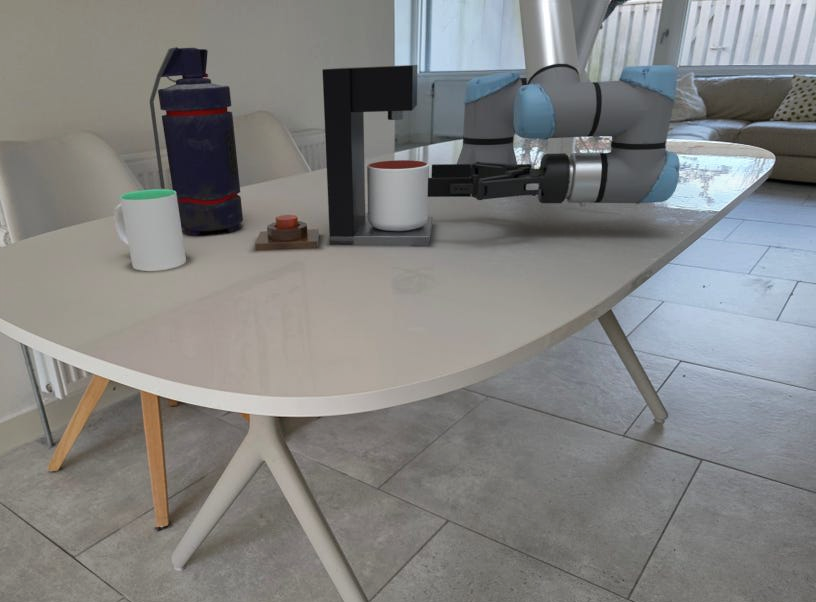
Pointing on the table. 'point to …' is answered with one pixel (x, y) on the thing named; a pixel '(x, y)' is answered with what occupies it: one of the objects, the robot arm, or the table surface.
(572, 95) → the robot arm
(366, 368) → the table surface
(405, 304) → the table surface
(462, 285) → the table surface
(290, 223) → the brew button
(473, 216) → the table surface
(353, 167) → the coffee maker
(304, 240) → the brew pad
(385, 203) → the cup
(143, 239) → the mug
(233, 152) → the grenade
